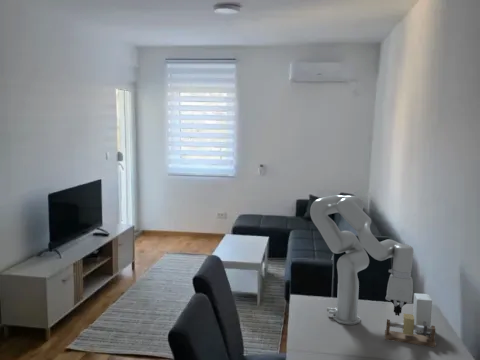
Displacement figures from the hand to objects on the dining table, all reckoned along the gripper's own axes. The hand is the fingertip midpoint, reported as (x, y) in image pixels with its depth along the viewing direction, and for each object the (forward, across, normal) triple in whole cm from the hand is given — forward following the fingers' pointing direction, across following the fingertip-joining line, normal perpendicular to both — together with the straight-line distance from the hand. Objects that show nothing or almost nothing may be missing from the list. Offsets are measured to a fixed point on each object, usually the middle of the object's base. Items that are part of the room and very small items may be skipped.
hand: (397, 314), depth 192 cm
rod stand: (+10, +6, 0) cm, 12 cm away
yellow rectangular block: (+7, +5, 0) cm, 9 cm away
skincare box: (+11, +12, +12) cm, 20 cm away
